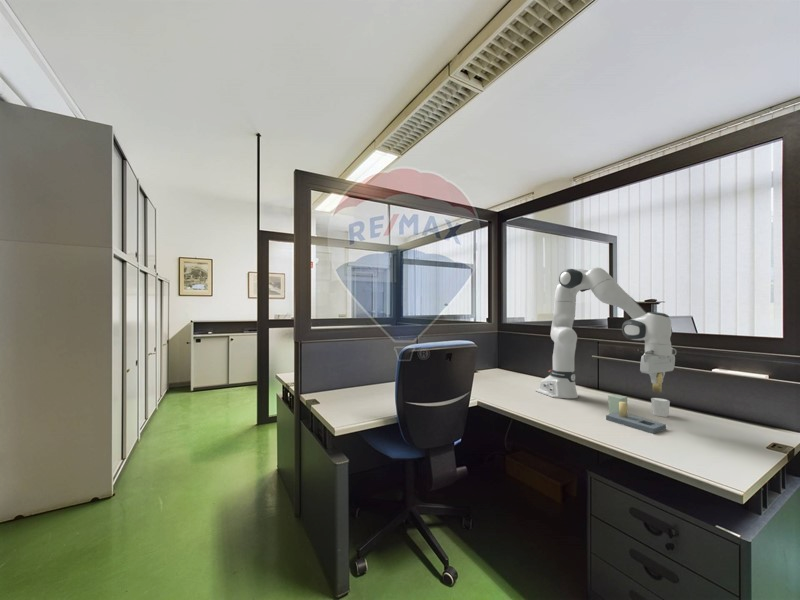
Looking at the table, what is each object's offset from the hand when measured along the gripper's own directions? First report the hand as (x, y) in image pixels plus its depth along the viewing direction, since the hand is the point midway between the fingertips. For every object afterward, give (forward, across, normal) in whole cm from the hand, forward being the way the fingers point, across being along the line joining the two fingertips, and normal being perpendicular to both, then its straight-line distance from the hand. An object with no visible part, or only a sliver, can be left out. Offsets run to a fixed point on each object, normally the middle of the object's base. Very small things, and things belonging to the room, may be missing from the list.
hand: (657, 382), depth 137 cm
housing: (+18, 0, +16) cm, 24 cm away
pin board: (+18, -8, +4) cm, 20 cm away
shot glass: (+18, +16, +6) cm, 24 cm away
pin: (+4, 0, 0) cm, 4 cm away
